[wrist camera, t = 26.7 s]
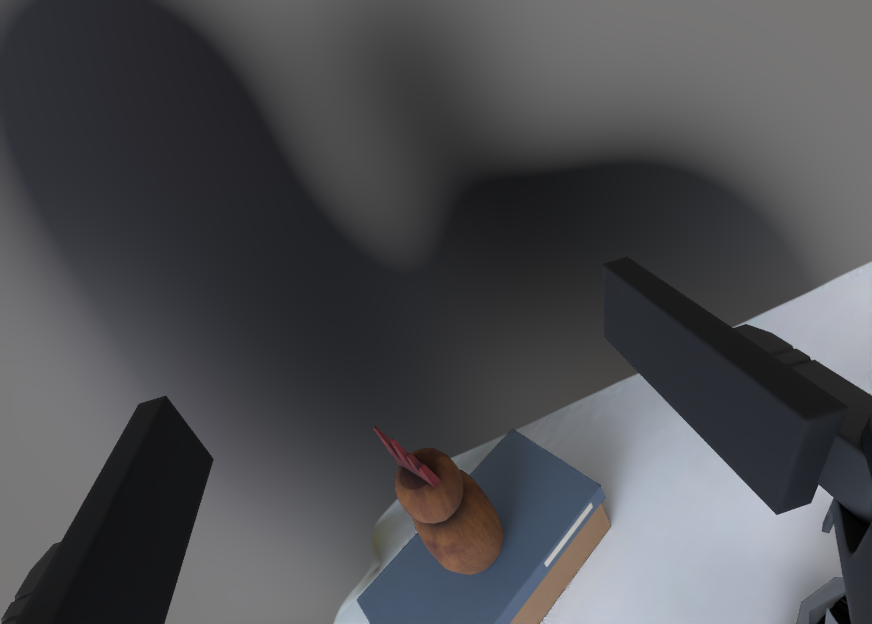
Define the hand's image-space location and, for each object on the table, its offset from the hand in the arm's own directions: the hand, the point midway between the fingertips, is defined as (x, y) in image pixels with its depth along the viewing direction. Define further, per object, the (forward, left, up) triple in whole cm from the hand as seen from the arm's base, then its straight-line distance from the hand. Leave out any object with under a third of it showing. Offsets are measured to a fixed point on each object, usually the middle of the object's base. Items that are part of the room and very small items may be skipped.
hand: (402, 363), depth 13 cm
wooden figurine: (+1, -11, -27) cm, 29 cm away
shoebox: (+1, -11, -34) cm, 36 cm away
